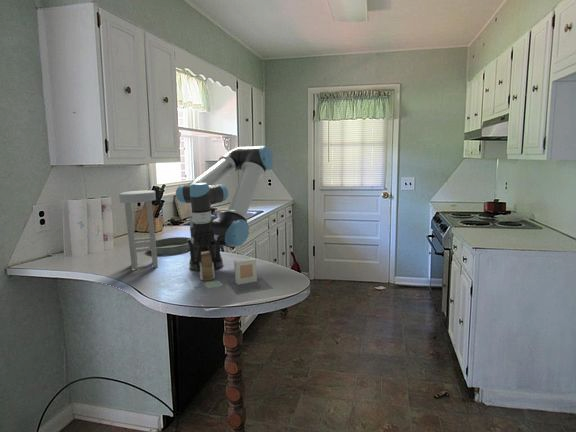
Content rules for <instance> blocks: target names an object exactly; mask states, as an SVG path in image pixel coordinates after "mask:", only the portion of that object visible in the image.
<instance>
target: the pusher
mask: <svg viewBox="0 0 576 432" xmlns="http://www.w3.org/2000/svg"><path fill="white" fill-rule="evenodd" d="M200 263H201V264H202V273H203V280H202V281H203V282H206V281H211V280H214V278H213V270H212V259H211V253H210V252H209V251H205V252H201V257H200Z"/></svg>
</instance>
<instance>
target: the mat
mask: <svg viewBox="0 0 576 432" xmlns="http://www.w3.org/2000/svg"><path fill="white" fill-rule="evenodd" d="M227 285H228V286H229V287H230V288H231V290H233V292H234V293H235V294H236V295H243V294H248V293H256V292H259V291H267V290H271V289H273V287H272V286H271V284H269V283H268V282H267V281H266V280H265V279H263V277H261V276H260V277H257V281H256V282H250V283H244V284H238V285H237V284H236V281H235V280H234V281H230V282H227Z"/></svg>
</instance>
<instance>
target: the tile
mask: <svg viewBox="0 0 576 432" xmlns="http://www.w3.org/2000/svg"><path fill="white" fill-rule="evenodd" d="M233 262H234V263H233V264H234V265H233V266H234V277H235V279H234V281H236V284H237V285H238V284H244V283H250V282H256V281H257V278H258V277H257V259H256V258H254V257H250V258H243V259H237V260H234V261H233Z"/></svg>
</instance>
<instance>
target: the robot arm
mask: <svg viewBox="0 0 576 432" xmlns="http://www.w3.org/2000/svg"><path fill="white" fill-rule="evenodd" d="M273 165H274V157H273V152H272V150H271V148H269V147H268V146H266V145H256V146H255V145H254V146H253V145H252V146H251V145H250V146H238V147H236V148H232V149H230V150H229V151H227V152H226V153H224V154H223V155H221V156H220V157H219V158H218V161H217V162H216V163H214V164H213V165H212V166H210V167H209V168H208V169H207V170H205V171H204V172H203V173H201V174H200V175H199V176H198V177H196V178H195V179H194V180H192V181H191V182H190V183H189V184H183V185H179V186H178V187H177V188H176V190H175V196H176V200H177V201H179V202H180V203H182V204H183V203H186V204H191V220H190V221H189V231H190V237H189V238H190V239H187V242H188V244H189V249H190V250H189V255H190V256H189V257H190V259H189V262H188V263H189V264H188V265H189V269H190V270H192V271H197V273H199V279H200V280H201V281H203V273H202V264H201V263H200V257H201V252H205V251H209V252H210V253H211V259H212V270H213V279H215V270H217V269H219V268H221V267H223V265H224V260H223V257H222V255H221V247H220V246H223V247H226V246H230V247H233V246H235V247H240V246H242V245H244V244H245V242H246V241H247V239H248V237H249V233H250V231H249V230H250V226H249V223H248V219H247V218H246V217H247V214H248V210H249V209H250V205H251V203H252V199H253V198H254V194H255V192H256V189H257V187H258V183H259V181H260V178H263V177H264V175H265V174H266V171H270V170H271V169H272V168H273ZM237 171H242V173H241V175H240V178H239V180H238V183H237V185H236V188H235V190H234V193H233V195H232V197H231V201H230V203H229V205H228V209H227V210H225V211H223V212H222V214H221V217H220V218H217V217H216V215H215V214H212V208H211V207H212V205H216V204H221V203H223V202H225V201H226V200H227V199H228V198H229V190H228V188H227V186H226V185H224V184H221V183H220V184H219V182H220V181H222V180H223V179H225V177H227V176H228V175H231V174H233V173H235V172H237ZM230 247H229V248H230Z"/></svg>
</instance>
